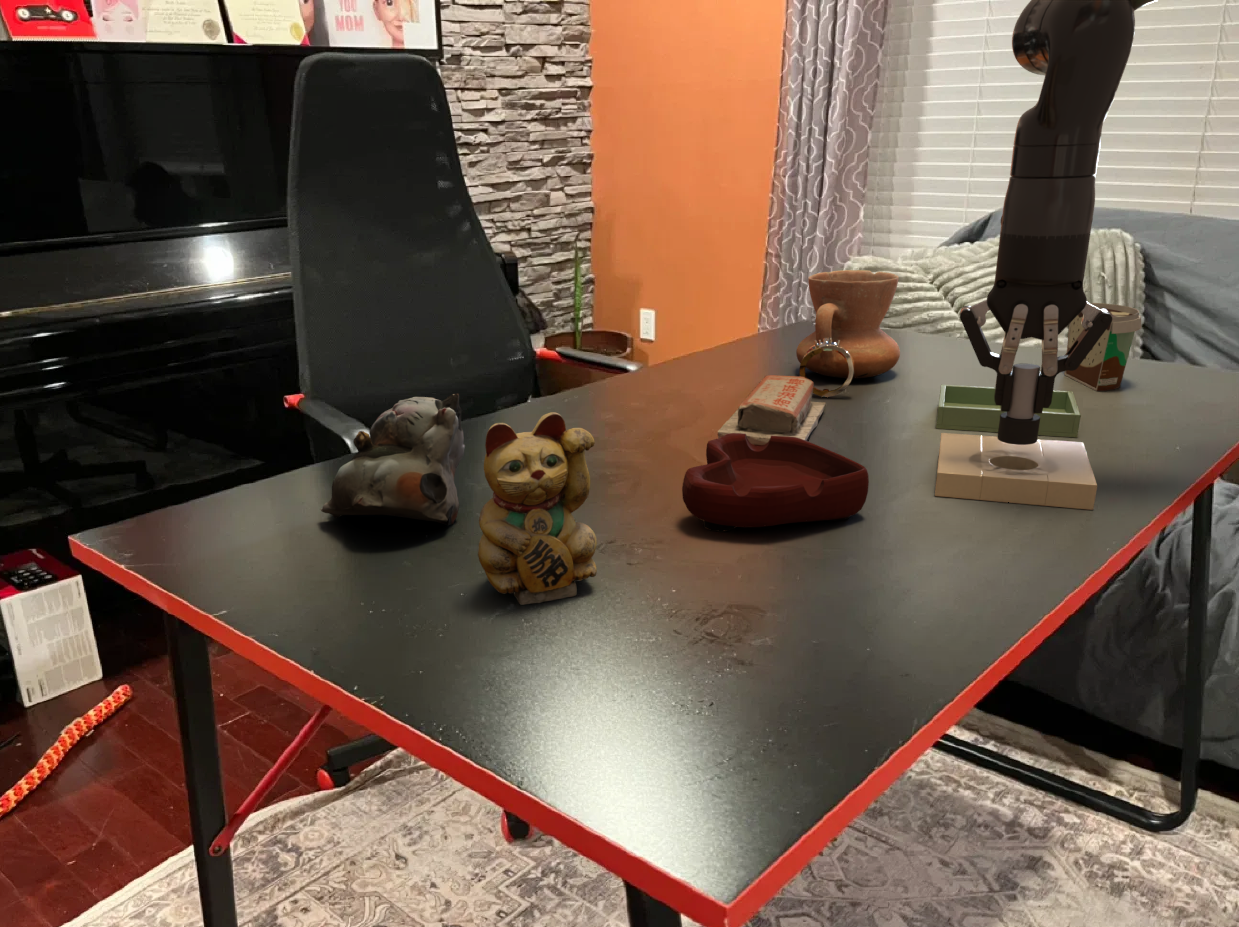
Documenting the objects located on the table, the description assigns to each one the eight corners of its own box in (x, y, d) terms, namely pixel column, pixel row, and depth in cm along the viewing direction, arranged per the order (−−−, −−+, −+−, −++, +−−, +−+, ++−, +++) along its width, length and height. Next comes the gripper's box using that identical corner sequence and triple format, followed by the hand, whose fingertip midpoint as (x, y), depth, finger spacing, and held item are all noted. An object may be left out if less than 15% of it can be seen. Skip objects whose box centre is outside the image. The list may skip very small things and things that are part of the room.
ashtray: (858, 553, 87) (862, 499, 86) (673, 534, 93) (673, 483, 91) (872, 487, 103) (876, 439, 101) (713, 474, 108) (714, 429, 107)
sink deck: (1079, 464, 107) (1083, 442, 106) (1093, 510, 95) (1097, 485, 94) (938, 454, 112) (941, 432, 111) (934, 496, 100) (937, 472, 99)
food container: (1149, 392, 133) (1163, 316, 129) (1102, 393, 133) (1114, 317, 129) (1103, 371, 144) (1114, 300, 141) (1059, 372, 145) (1070, 301, 141)
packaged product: (749, 370, 132) (828, 374, 128) (748, 406, 133) (825, 411, 130) (717, 404, 116) (805, 410, 113) (716, 445, 118) (802, 452, 114)
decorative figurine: (498, 618, 78) (487, 432, 73) (464, 579, 85) (451, 406, 80) (610, 593, 82) (607, 413, 76) (568, 557, 89) (562, 390, 83)
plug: (1036, 435, 101) (1046, 362, 98) (1038, 446, 98) (1048, 371, 95) (997, 433, 102) (1005, 361, 100) (997, 443, 99) (1006, 369, 96)
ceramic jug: (829, 357, 159) (835, 264, 154) (918, 368, 149) (928, 270, 144) (768, 379, 147) (772, 280, 141) (861, 394, 137) (869, 287, 132)
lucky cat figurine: (306, 512, 101) (335, 378, 102) (417, 536, 107) (443, 409, 108) (352, 514, 88) (385, 360, 89) (475, 542, 94) (504, 396, 95)
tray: (1069, 412, 126) (1072, 391, 125) (1077, 437, 116) (1080, 414, 115) (938, 404, 131) (941, 384, 130) (936, 428, 121) (938, 406, 120)
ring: (796, 398, 136) (799, 339, 133) (801, 392, 139) (804, 334, 136) (849, 402, 134) (854, 342, 131) (853, 396, 136) (858, 337, 133)
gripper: (963, 232, 92) (944, 416, 98) (1136, 232, 87) (1105, 425, 93) (964, 224, 98) (946, 397, 105) (1125, 223, 94) (1096, 404, 100)
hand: (1021, 409), depth 99 cm, fingers closed on plug, 2 cm apart
